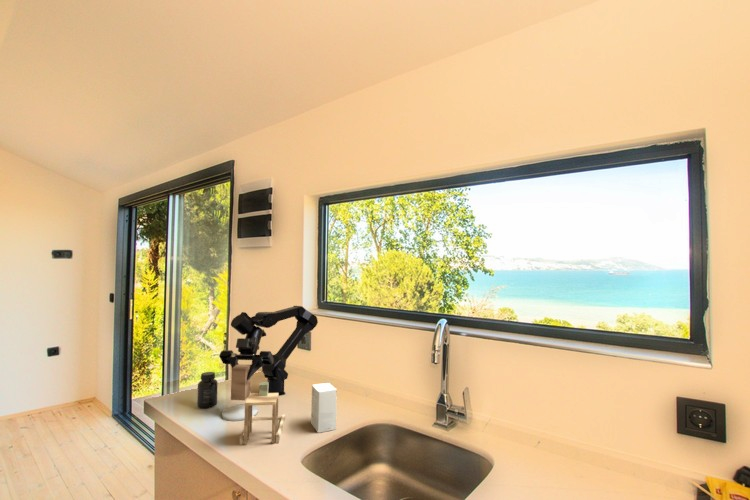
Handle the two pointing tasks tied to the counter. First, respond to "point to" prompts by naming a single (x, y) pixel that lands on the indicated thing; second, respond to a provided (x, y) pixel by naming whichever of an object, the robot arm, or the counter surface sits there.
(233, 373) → the walnut block
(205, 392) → the supplement bottle
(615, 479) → the counter surface
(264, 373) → the robot arm
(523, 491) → the counter surface
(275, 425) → the wooden toy stool
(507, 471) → the counter surface
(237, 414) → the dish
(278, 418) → the track
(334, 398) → the small box
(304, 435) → the counter surface
